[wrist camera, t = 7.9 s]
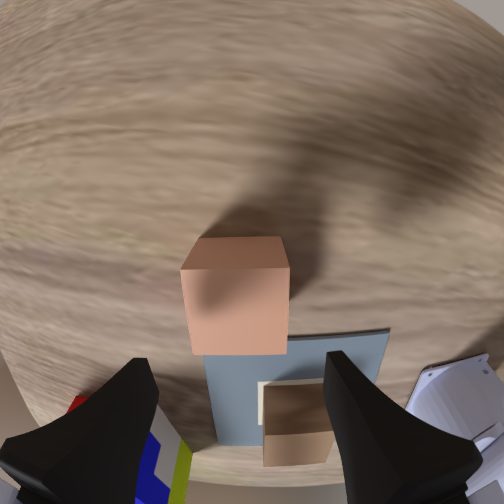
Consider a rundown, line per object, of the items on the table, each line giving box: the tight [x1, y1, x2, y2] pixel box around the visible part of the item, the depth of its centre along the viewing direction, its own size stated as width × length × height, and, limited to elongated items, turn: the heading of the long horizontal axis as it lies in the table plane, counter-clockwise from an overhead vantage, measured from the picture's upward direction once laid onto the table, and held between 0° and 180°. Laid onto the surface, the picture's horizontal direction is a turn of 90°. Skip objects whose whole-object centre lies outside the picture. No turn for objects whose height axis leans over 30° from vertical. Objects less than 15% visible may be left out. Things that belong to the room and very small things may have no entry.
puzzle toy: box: [66, 397, 193, 504], centre depth 20 cm, size 10×10×10 cm
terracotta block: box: [180, 236, 290, 355], centre depth 16 cm, size 5×5×5 cm
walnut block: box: [262, 383, 335, 467], centre depth 20 cm, size 5×5×5 cm
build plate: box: [203, 330, 389, 446], centre depth 22 cm, size 14×14×1 cm
